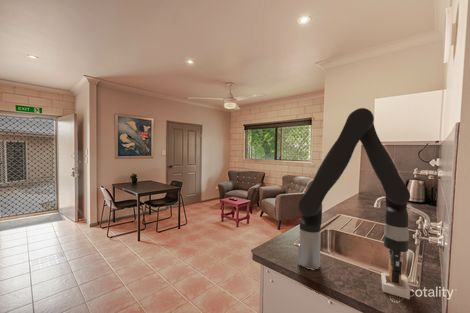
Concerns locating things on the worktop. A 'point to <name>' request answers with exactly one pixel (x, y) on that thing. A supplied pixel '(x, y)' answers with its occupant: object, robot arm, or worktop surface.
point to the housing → (395, 286)
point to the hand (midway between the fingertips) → (394, 279)
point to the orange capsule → (391, 276)
